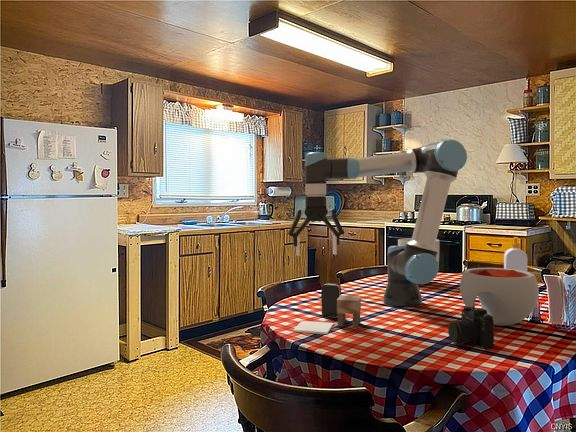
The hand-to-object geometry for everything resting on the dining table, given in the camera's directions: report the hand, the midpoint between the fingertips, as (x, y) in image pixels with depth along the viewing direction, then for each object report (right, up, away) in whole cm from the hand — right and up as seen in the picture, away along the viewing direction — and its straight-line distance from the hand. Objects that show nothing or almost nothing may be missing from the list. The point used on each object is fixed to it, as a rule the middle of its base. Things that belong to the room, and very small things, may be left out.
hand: (316, 254), depth 165 cm
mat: (-2, -23, -16) cm, 28 cm away
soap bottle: (+97, -19, +52) cm, 112 cm away
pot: (+60, -22, -11) cm, 65 cm away
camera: (+42, -23, -31) cm, 57 cm away
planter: (+54, -19, +60) cm, 83 cm away
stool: (+10, -22, -12) cm, 27 cm away
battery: (+6, -22, +1) cm, 23 cm away
